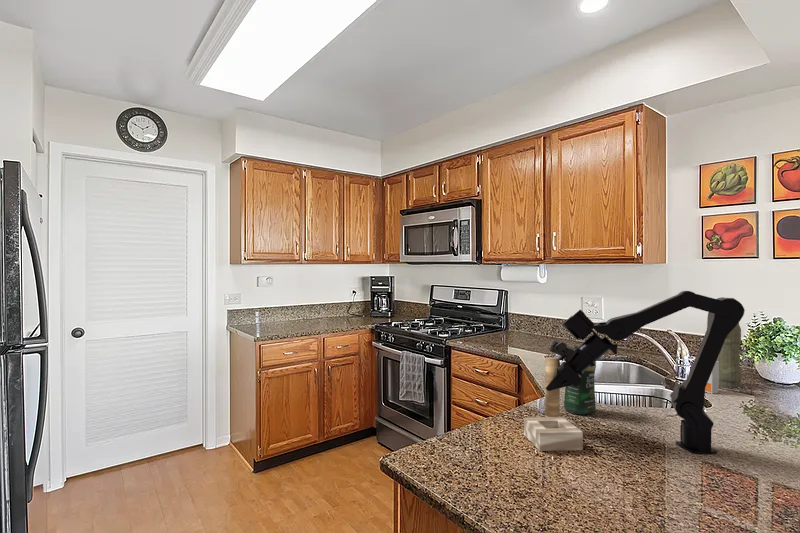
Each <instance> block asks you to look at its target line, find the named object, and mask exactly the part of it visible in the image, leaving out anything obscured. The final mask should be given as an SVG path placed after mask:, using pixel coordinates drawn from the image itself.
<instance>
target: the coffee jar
mask: <svg viewBox="0 0 800 533" xmlns="http://www.w3.org/2000/svg"><path fill="white" fill-rule="evenodd" d="M594 363H595V364H594V365H593V366H590V367H588V368H587V369H586V370H585V371H584V372H583V374H582V375H581V384H579V385H578V386H577V387H574V386H572V385H571V386H567V387H564V388H565V389H564V398H563V399H564V400H563V408H564V410H566V411H568V413H571V414H577V415H587V414H591V413H594V412H595V411H596V390H595V374H596V369H597V361H595V362H594Z"/></svg>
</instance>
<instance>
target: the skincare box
mask: <svg viewBox="0 0 800 533" xmlns="http://www.w3.org/2000/svg"><path fill="white" fill-rule="evenodd" d="M719 387H720V386H719V361H716V363H715V366H714V368H713V370H712V373H711V375H710V378H709V380H708V382H707V385H706V387H705V393H706V392H707V394H710V393H711V395H714V394H713V393H715V394H719V393H720V392H719V391H720V388H719Z"/></svg>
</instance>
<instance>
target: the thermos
mask: <svg viewBox="0 0 800 533" xmlns="http://www.w3.org/2000/svg"><path fill="white" fill-rule="evenodd" d="M729 298H730V299H735V298H734V297H729ZM735 300H737V299H735ZM741 328H742V327H741V325H740V322H739V323H738V324H737V326H736V327H735V328H734V329H733V330H732V331H731V332H730V333H729V334H728V336H727V337H726V339H725V342H724V344H723V346H722V349H721V351H720V354H719V356H718V358H717V361H719V387H720V386H722V387H721V388H725V387H731V388H730V389H734V388H737V389H739V388H738V387H741V386H742V385H741V382H742V371H741V368H740V367H741V366H740V363H741V362H740V359H741V358H740V352H741V351H740V344H741V343H742V329H741ZM741 388H742V387H741Z"/></svg>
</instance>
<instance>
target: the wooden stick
mask: <svg viewBox="0 0 800 533" xmlns="http://www.w3.org/2000/svg"><path fill="white" fill-rule="evenodd" d="M560 363H561V360H560V359H559V357H545V358H544V415H545V417H561V416H560V414H561V413H560V412H561V409H560V408H561V407H560V402H561V400H560V398H561V396H560V392H561V391H560V390H561V388H559V389H555V390H551V391H548V390H547V389H546V387H547V386H548V384H549V383H550V382H551V381H552V379H553V378H554V377H555V376H556V374H557V366H558V367H559V366H560Z"/></svg>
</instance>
